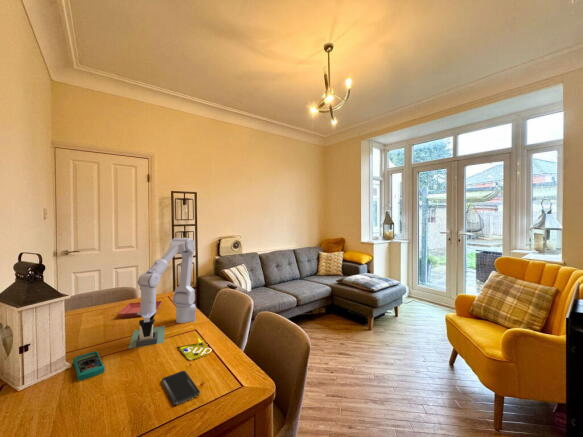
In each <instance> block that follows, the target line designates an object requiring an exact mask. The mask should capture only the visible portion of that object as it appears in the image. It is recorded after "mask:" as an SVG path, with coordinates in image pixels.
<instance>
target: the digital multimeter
mask: <svg viewBox="0 0 583 437" xmlns="http://www.w3.org/2000/svg"><path fill="white" fill-rule="evenodd" d="M73 364H74V365H73ZM72 365H73V366H75V367H74V369H76V370H75V372H76V373H75V374H76V379H77V380H80V381H83V380H84V381H85V380H88V379H90V378H94V377H96V376H99V375H101V374H104V373H105V370H106V368H105V364H104V363H103V362H102V360H101V357H100V353H99V351H96V350H95V351H91V352H88V353H84V354H80V355H78V356H76V357H74V358H73V359H72ZM87 378H88V379H87ZM77 380H76V381H77Z"/></svg>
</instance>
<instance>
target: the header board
mask: <svg viewBox="0 0 583 437" xmlns="http://www.w3.org/2000/svg"><path fill="white" fill-rule="evenodd" d="M165 330H166V325H161V326H155V327H154V326H153V338H152V339H146V340H140V339H139V336H140V329H135V330H133V333H132V336H131V338H130V341H129V345H128V349H134V348H140V347H141V348H142V347H146V346H151V345H152V346H153V345H159V344H164V343H165V337H166V336H165Z"/></svg>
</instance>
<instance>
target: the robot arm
mask: <svg viewBox="0 0 583 437" xmlns="http://www.w3.org/2000/svg"><path fill="white" fill-rule="evenodd" d="M195 245H196V244H195V240H194V239H193V238H190V237H189V238H184V237H174V238H172V240H171V241H170V242H169V247H168V248H167V250H166V252H165V253H164V254H163V256H161V258H160V259H157V260H154V262H153V263H152V265H151V266H150V267H149V268H148V270H146V272H144V273H142V274H141V275H140V276H139V277H138V280H137V285H138V287H139V290H140V302H141V311H140V312H137V315H141V316H140V317H142V319H141V320H140V319H139V322H138V324H139V325H140V326H141V328H142V331H143V335H144V337H149V336H150V333H151V328H152V325H153V326H154V323H155V321H156V319H154V318H155V315H156V314H157V311H156V301H157V286H158V285H159V284H160V280H161V278H162V275H163V274H164V273H165V272H166V270H167V268H168V265H169V264H168V263H169V262H170V261H171V260H172V259H173V258H174V257H175V256H176V255H177V254H178V253H179V254H180V255H181V265H180V273H179V275H180V276H179V285H178V287H176V288H175V289H174V293H173V295H172V302H173V304H174V305H175V307H176V308H175V322H176V323H178V324H185V323H188V322H189V323H190V322H193V323H196V318H197V315H196V303H195V300H196V294H195V291H196V290H195V289H194V288H193V287H192V286H191V282H192V272H193V271H192V269H193V261H194V260H193V259H194V257H193V256H194V253H195ZM140 326H139V327H140Z"/></svg>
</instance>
